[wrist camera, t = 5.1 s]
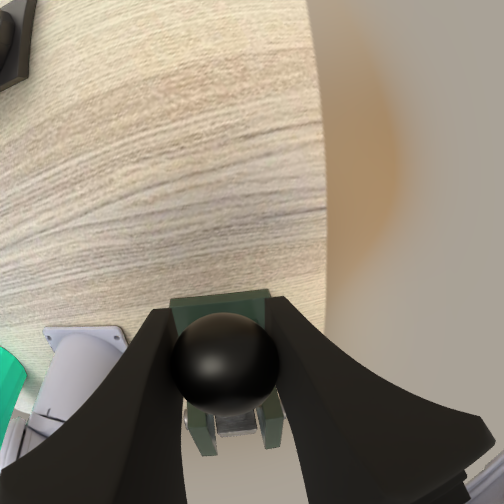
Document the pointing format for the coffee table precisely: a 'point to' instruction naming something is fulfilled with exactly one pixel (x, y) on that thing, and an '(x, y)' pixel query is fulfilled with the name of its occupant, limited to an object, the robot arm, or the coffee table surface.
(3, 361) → the candle
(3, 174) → the coffee table surface
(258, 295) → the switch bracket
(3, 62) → the switch box
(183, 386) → the switch lever
